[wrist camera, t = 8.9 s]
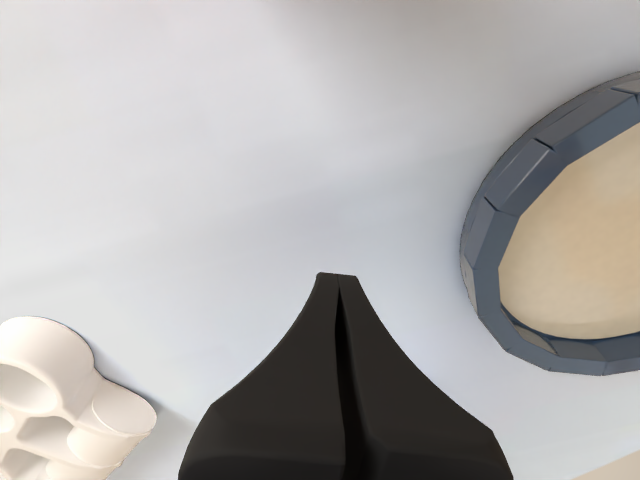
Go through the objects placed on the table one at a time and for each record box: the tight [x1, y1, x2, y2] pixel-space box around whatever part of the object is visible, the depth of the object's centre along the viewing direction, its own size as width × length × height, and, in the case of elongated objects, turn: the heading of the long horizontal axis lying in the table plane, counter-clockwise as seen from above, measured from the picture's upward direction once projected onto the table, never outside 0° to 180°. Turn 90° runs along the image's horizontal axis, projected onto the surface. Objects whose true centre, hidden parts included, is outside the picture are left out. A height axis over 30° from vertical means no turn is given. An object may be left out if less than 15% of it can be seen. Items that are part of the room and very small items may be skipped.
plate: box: [460, 71, 640, 376], centre depth 18 cm, size 16×16×3 cm
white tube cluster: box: [0, 316, 157, 480], centre depth 26 cm, size 3×18×15 cm
